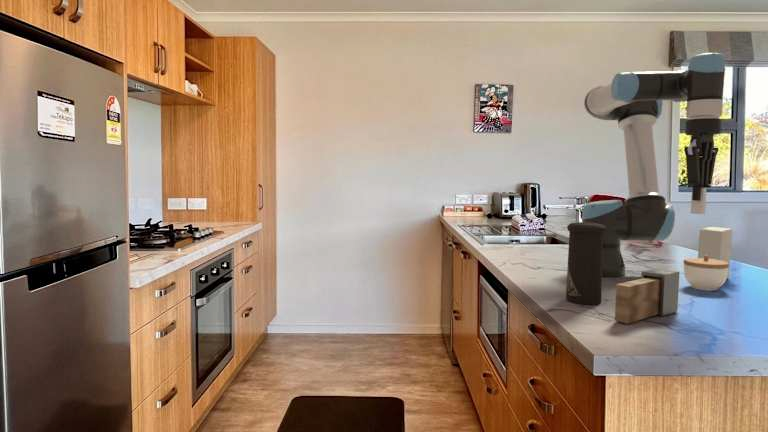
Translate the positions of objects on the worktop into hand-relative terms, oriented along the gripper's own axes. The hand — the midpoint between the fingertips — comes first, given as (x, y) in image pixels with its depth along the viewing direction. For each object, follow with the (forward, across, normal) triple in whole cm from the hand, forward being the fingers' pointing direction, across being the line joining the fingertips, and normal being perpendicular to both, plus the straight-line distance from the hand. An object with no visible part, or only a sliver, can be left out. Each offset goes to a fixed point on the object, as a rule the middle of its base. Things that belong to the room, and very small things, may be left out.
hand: (697, 213), depth 127 cm
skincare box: (+23, -33, -9) cm, 41 cm away
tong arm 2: (+22, +26, +2) cm, 34 cm away
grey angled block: (+22, +19, +1) cm, 29 cm away
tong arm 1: (+22, +26, 0) cm, 34 cm away
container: (+22, +24, -15) cm, 36 cm away
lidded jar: (+22, -16, -4) cm, 28 cm away
